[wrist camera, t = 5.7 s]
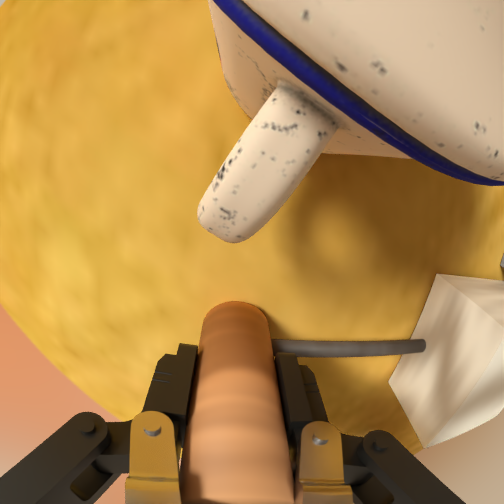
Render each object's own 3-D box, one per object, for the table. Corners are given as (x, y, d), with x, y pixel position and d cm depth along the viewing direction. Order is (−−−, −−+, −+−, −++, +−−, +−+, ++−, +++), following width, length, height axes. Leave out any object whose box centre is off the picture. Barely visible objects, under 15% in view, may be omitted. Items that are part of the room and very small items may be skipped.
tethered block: (208, 248, 12) (156, 443, 3) (503, 280, 13) (582, 343, 5) (200, 381, 14) (184, 529, 6) (460, 369, 16) (514, 442, 8)
